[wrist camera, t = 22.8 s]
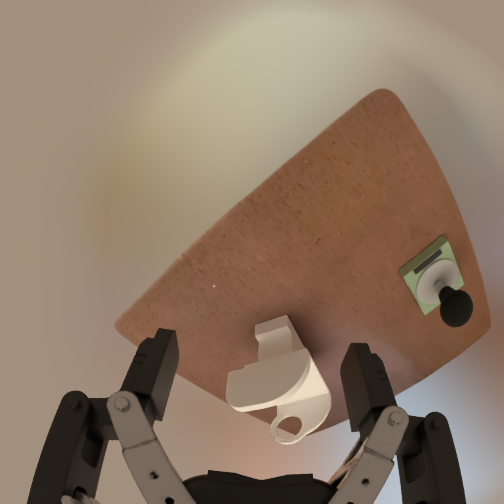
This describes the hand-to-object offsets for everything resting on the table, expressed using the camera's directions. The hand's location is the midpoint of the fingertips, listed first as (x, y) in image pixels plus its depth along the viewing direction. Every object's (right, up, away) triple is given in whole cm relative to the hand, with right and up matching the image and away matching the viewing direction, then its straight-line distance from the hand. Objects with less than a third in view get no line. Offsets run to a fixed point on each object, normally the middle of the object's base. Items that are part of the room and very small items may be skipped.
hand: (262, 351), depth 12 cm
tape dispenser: (+5, -13, +39) cm, 41 cm away
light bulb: (+32, -1, +28) cm, 42 cm away
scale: (+32, 0, +30) cm, 44 cm away
